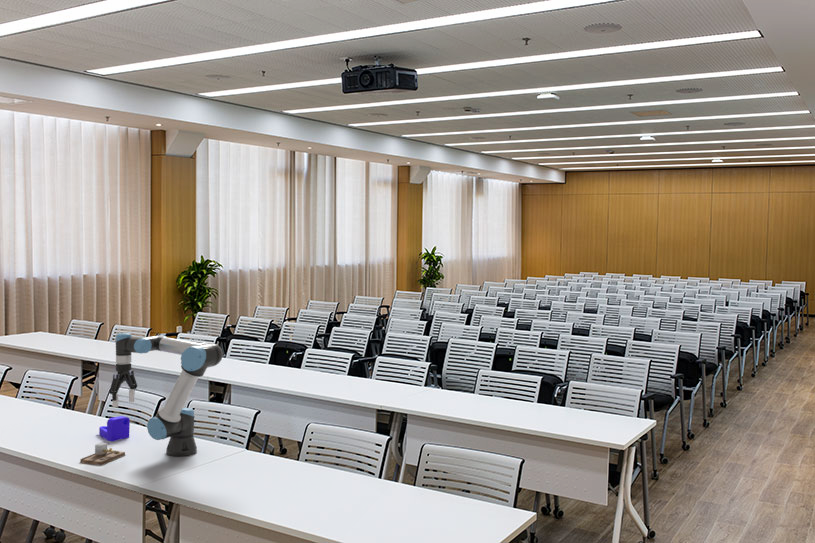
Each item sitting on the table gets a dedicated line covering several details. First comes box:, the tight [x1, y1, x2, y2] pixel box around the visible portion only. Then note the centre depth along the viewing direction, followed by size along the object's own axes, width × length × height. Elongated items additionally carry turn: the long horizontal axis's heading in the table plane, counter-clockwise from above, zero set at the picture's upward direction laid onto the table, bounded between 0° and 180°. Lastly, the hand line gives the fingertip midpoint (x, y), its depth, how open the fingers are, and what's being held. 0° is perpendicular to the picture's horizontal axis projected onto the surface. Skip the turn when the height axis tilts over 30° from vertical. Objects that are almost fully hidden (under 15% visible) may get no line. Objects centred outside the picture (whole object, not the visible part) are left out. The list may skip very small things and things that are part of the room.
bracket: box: [98, 415, 131, 442], centre depth 399 cm, size 18×11×12 cm, turn 56°
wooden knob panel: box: [79, 450, 126, 466], centre depth 358 cm, size 12×18×3 cm, turn 165°
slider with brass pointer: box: [94, 442, 115, 456], centre depth 359 cm, size 9×4×5 cm, turn 75°
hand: (123, 404), depth 372 cm, fingers open, 13 cm apart
